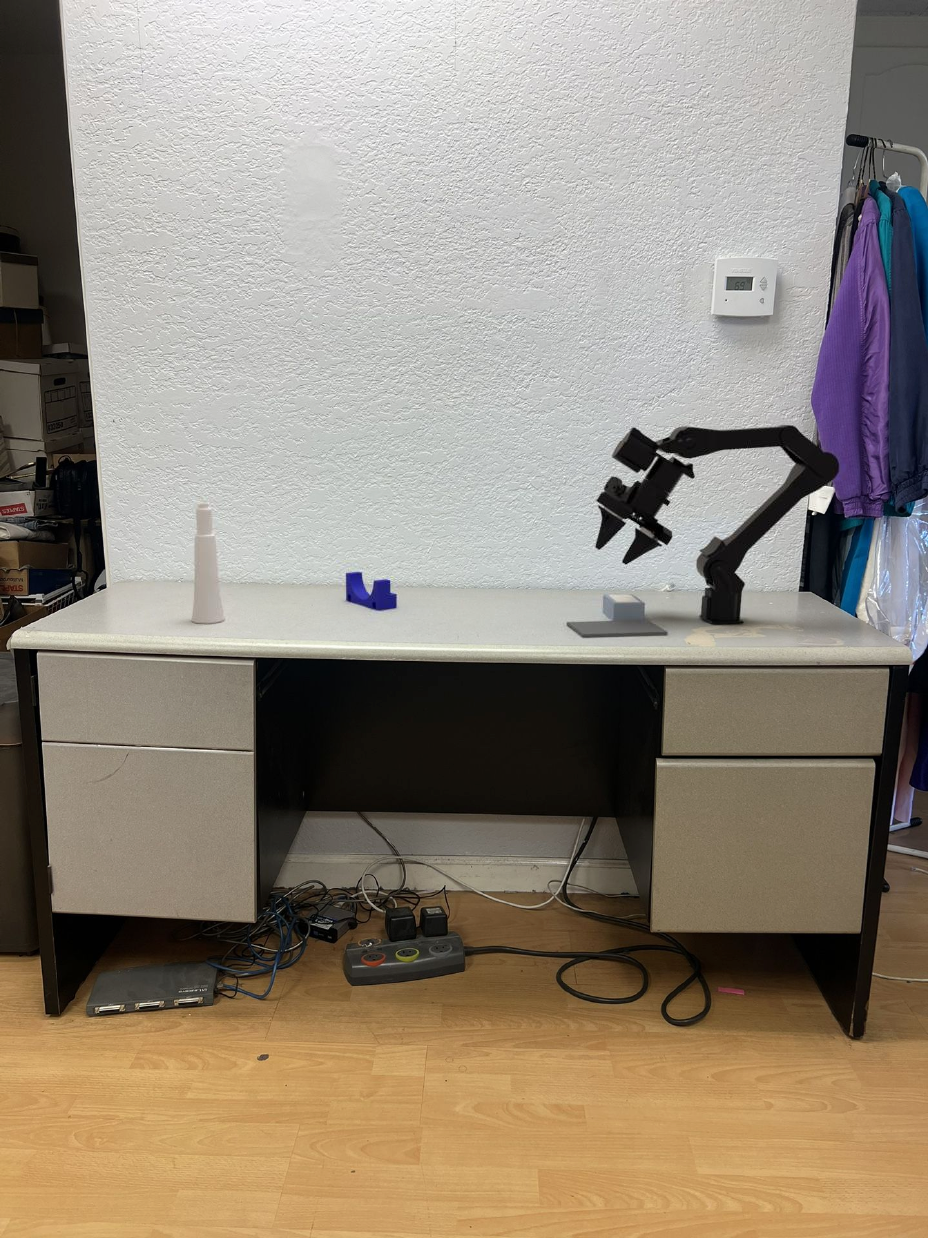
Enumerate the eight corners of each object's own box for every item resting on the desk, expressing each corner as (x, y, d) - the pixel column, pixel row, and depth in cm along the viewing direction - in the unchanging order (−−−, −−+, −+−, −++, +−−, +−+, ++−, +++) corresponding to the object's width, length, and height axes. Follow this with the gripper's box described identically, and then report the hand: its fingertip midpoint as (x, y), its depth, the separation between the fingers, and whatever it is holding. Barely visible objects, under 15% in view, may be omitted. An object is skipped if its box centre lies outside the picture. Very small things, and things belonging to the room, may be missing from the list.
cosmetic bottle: (191, 624, 183) (186, 504, 178) (191, 617, 188) (186, 501, 184) (225, 623, 184) (221, 504, 180) (224, 616, 190) (219, 500, 185)
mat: (647, 622, 190) (647, 619, 190) (667, 634, 180) (667, 631, 180) (566, 625, 187) (566, 622, 187) (582, 637, 177) (582, 634, 177)
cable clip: (396, 608, 200) (396, 579, 199) (377, 611, 198) (377, 581, 196) (364, 599, 209) (364, 570, 208) (346, 601, 207) (345, 573, 205)
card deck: (631, 613, 199) (632, 593, 199) (643, 623, 191) (645, 602, 190) (602, 613, 199) (603, 593, 198) (613, 623, 190) (614, 602, 189)
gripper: (654, 486, 199) (610, 552, 202) (602, 451, 186) (556, 521, 189) (692, 510, 192) (647, 578, 195) (641, 474, 179) (593, 548, 182)
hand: (610, 556), depth 190 cm, fingers open, 9 cm apart
